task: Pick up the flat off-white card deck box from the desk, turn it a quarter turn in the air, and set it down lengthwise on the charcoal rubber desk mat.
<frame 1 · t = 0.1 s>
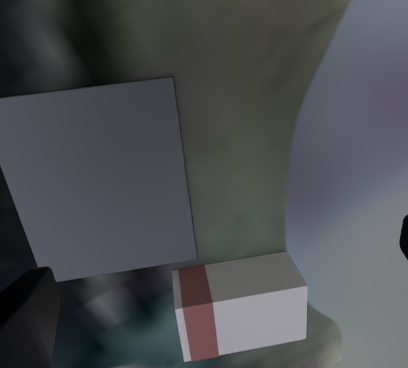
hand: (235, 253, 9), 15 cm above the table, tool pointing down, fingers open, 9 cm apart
card deck box: (232, 286, 28), on the table
desk mat: (102, 188, 23), on the table
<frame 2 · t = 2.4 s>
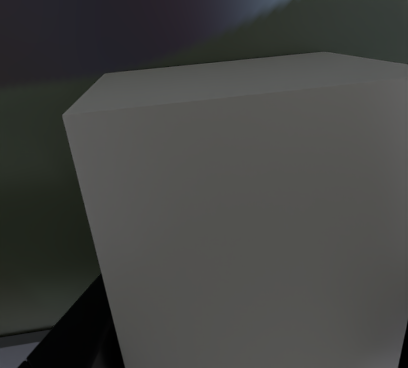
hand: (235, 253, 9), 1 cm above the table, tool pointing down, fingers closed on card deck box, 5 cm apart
card deck box: (227, 232, 10), on the table, touching gripper
when the fingers open (3 cm above the table, at t = 6.7 s): card deck box drops 1 cm, resting on desk mat.
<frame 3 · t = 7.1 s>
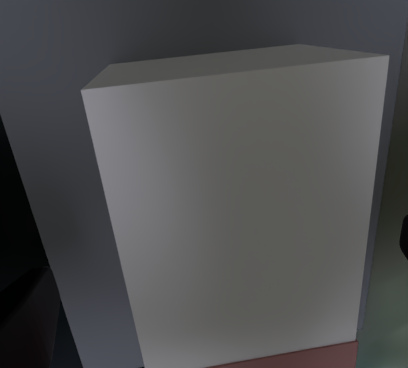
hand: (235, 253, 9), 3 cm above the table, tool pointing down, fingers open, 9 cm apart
card deck box: (219, 205, 11), resting on desk mat
desk mat: (216, 200, 12), on the table
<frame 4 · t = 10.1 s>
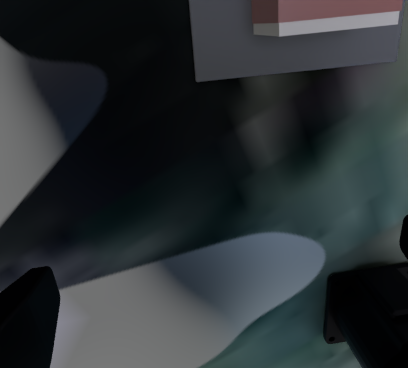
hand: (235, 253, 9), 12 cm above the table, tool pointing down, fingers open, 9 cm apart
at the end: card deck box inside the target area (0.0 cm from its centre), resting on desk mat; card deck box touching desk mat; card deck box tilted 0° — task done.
